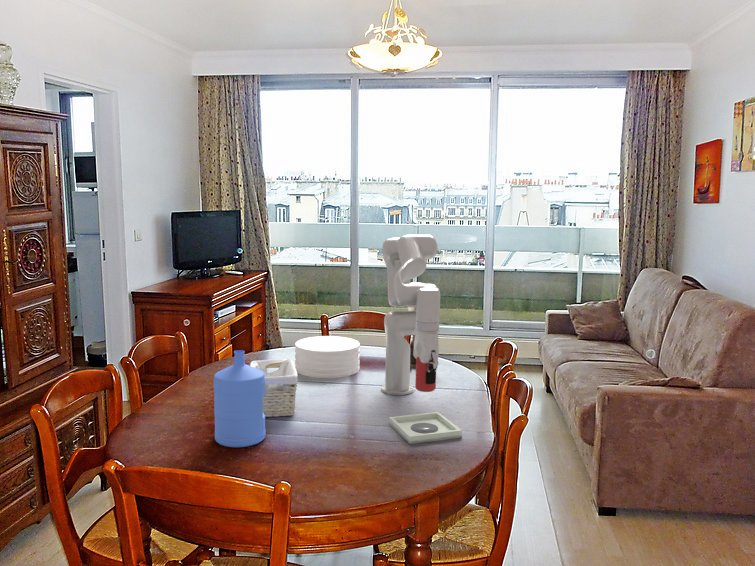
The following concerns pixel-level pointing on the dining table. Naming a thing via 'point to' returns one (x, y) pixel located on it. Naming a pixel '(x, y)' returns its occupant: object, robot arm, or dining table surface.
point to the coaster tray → (425, 427)
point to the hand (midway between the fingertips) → (425, 379)
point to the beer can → (423, 377)
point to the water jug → (239, 404)
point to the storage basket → (278, 387)
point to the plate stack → (327, 356)
